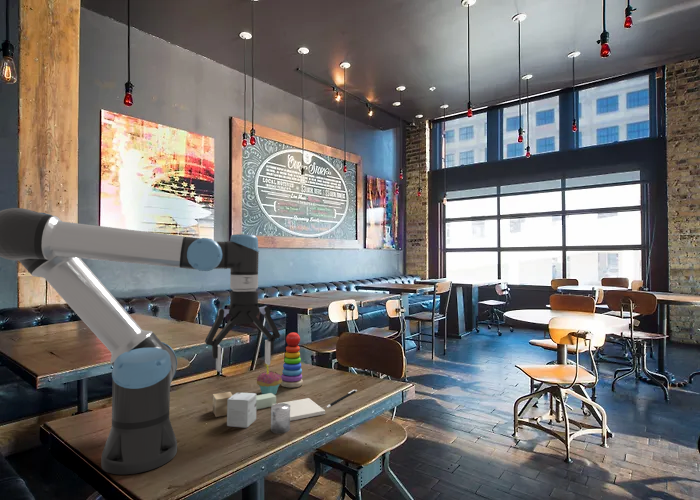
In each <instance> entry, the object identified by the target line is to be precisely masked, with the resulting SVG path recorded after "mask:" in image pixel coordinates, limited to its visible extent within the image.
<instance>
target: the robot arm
mask: <svg viewBox="0 0 700 500" xmlns="http://www.w3.org/2000/svg"><path fill="white" fill-rule="evenodd" d="M259 252H260V251H259V239H258V237H257V236H256V235H255V234H249V233H248V234H246V233H245V234H243V233H242V234H241V233H239V234H237V233H236V234H235V233H234V234H232V235H230V239H229V240H228V241H227V240H226V241H216V240H214V239H212V238H208V237H200V238H199V237H193V236H183V235H176V234H167V233H159V232H151V231H142V230H135V229H127V228H119V227H111V226H102V225H93V224H86V223H77V222H70V221H69V222H68V221H62V220H61V219H60V218H59V216H56V215H52V214H49V213H45V212H38V211H34V210H31V209H28V208H23V207H21V208H20V207H11V208H6V209H2V210H0V258H2V259H5V260H9V261H17V262H19V263H20V264H21V265H22V266H23V267H24V268H25V269H26V271H28V273H29V274H30V275H31V276H32V277H36V278H43V279H45V281H46V282H47V283H48V284H49V285H50V286H51V287H52V288H53V289H54V290H55V292H56V293H57V294H58V295H59V296H60V297H61V299H63V301H64V302H65V304H67V305H68V307H70V309H71V310H72V311H73V312H74V313H75V315H77V316H78V317H79V318H80V320H81V321H82V322H83V323H84V324H85V325H86V326H87V327H88V328H89V330H90V331H91V332H92V333H93V334H94V335H95V336H96V338H97V339H98V340H99V341H100V342H101V343H102V344H103V345H104V346H105V347H106V349H107V350H108V351H109V352H110V354H111V357H110V364H111V365H112V366H113V367H112V371H111V378H112V386H111V387H112V392H111V393H112V397H111V429H110V431H109V434H108V436H107V439H106V442H105V444H104V448H103V450H102V452H101V461H100V462H101V463H100V465H101V469H102V470H103V471H104V472H106V473H108V474H113V475H134V474H140V473H145V472H148V471H151V470H155V469H157V468H159V467H162V466H164V465H165V464H167V463H168V462H170V461H171V460H172V459H174V457H175V456H176V455H177V452H178V441H177V440H178V439H177V438H176V434H175V431H174V429H173V426H172V423H171V420H170V409H171V408H170V407H171V406H170V405H171V402H170V401H171V385H172V384H171V383H172V382H173V379H174V377H175V375H176V373H177V370H178V369H177V368H178V357H177V355H176V352H175V351H174V349H173V348H172V347H171V346H170V345H169V344H167V343H165V342H163V341H161V340H160V338H158V336H157V334H155V333H154V332H153V330H146V329H145V330H144V329H142V328H141V327H140V325H139V324H138V323H137V322H136V321H135V319H134V318H133V317H132V316H131V315H130V314H129V312H128V311H127V310H126V309H125V308H124V307H123V306H122V304H121V303H120V302H119V301H118V300H117V299H116V298H115V297H114V295H113V294H112V293H111V291H110V290H109V289H107V287H106V286H105V285H104V284H103V282H102V281H101V280H100V279H99V278H98V277H97V275H95V274H94V272H93V271H92V270H91V269H90V267H89V266H88V265H87V264H86V263H85V262H84V261H83V259H87V260H95V261H105V262H108V261H109V262H118V263H127V264H129V263H130V264H138V265H146V266H147V265H148V266H159V267H169V268H178V269H179V268H181V269H187V270H188V269H189V270H197V271H200V272H210V271H212V270H215V269H216V270H219V269H222V270H223V269H224V270H225V269H226V270H227V269H230V273H229V274H230V277H229V279H230V281H229V283H230V284H229V288H230V289H231V291H230V294H229V297H230V298H229V309H227V308H224V309H223V308H221V307H219V308H218V309H217V316H216V318H215V320H214V322H213V324H212V326H211V328H210V330H209V332H208V334H207V336H206V338H205V340H204V343H205V344H206V345H207V346H211V356H212V358H213V359H215V370H216V372H221V371H222V367H221V366H222V346H221V345H220V344H221V342H222V341H223V339H225V337H226V336H227V335H228V333H230V331H231V330H232V329H233V328H234V327H235V326H236V324H237V325H244V324H247V325H250V324H252V323H253V324H254V325H255V326H256V327H257V329H259V330H260V332H261V333H262V334H263V335H264V336H265V337H266V339H265V340H264V342H265V343H264V363H265V364H267V365H268V366H270V365H271V353H273V352H274V350H275V349H274V347H275V346H274V345H275V344H274V342H275V340H277V339H280V338H281V334H280V332H279V330H278V328H277V326H276V324H275V321H274V320H273V318H272V316H271V311H270V307H269V306H267V305H263V306H260V307H259V292H258V288H259ZM259 314H262V315H263V316H264V319H265V321H266V323H267V324H268V327H269V329H270V331H271V332H270V331H269V330H268V329H267V328H266V326H264V324H262V321H260V320H259V319H258V317H257V316H258V315H259ZM227 315H229V316H230V319H229V320H228V321H227V323H226V324H225V326H224V327H222V329H221V330H220V332H219V333H218V334H217V332H218V330H219V329H220V326H221V324H222V322H223V320H224V318H226V317H227ZM271 333H272V334H271ZM216 334H217V335H216Z"/></svg>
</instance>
